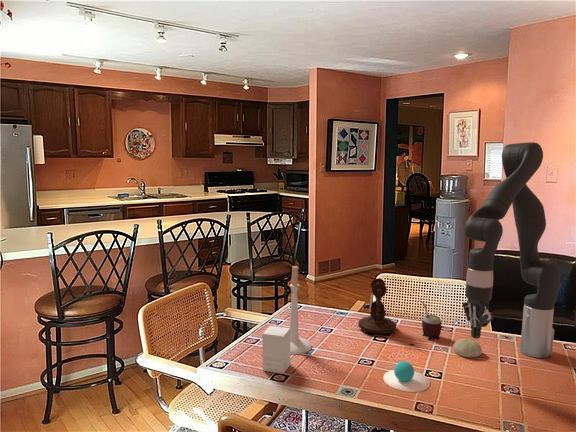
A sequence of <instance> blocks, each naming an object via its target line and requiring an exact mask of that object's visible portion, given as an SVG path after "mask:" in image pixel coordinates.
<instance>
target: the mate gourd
mask: <svg viewBox="0 0 576 432" xmlns="http://www.w3.org/2000/svg"><path fill="white" fill-rule="evenodd" d="M419 302H420V303H421V304H422V305H423V307H424V310H425V313H426V315H425V316H424V317H422V320H421V321H422V322H421V328H422V329H421V330H422V336H423V337H426V338H427V340H428V341H431V339H435V340H440V336H441V333H442V332H441V331H442V326H443V324H442V320H441V318H440V317H439V316H437V315H434V314H429V313H428V310H427V305H426V304H425V303H424V302H423V301H421V300H419Z"/></svg>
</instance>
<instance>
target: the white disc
mask: <svg viewBox="0 0 576 432" xmlns="http://www.w3.org/2000/svg"><path fill="white" fill-rule="evenodd" d="M383 381H384V383H385V384H386V385H387V386H389V387H390V388H392V389H394V390H397V391H400V392H407V393H418V392H423V391H425V390H428V389H429V388H430V386H431V381H430V379H429V378H428V377H427V376H425V375H424V374H422V373H420V372H418V371H415V370H414V376H413V378H412V379H411V380H410V381H408V382H402V381H400V380H398V379H397V378H396V376H395V373H394V369H391V370H389V371H387V372H385V373H384V374H383Z"/></svg>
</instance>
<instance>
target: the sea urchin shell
mask: <svg viewBox="0 0 576 432" xmlns="http://www.w3.org/2000/svg"><path fill="white" fill-rule="evenodd" d="M452 348H453V351H454V352H455V353H456V354H458V355H459V356H462V357H463V358H478V357H480V356H481V355H482V353H483V349H482V345H480V343H478V341H476V340H473V339H469V338H461V339H458V340H456V341H455V342H454V343H453V346H452Z"/></svg>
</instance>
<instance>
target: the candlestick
mask: <svg viewBox="0 0 576 432" xmlns="http://www.w3.org/2000/svg"><path fill="white" fill-rule="evenodd" d="M298 269H299V267H298V266H297V265H293V266H292V267H291V283H290V284H289V287H290V290H291V302H290V304H291V305H290V314H289V315H290V316H289V328H290V355H302V354H306V353H308V352H310V351H311V350H312V343H311V342H310V341H309V340H307V339H305V338H304V337H300V336H299V334H300V333H299V308H298V291H299V287H300V284H298V282H299V281H298V280H299V279H298V277H299V276H298V275H299V273H298V271H299V270H298Z"/></svg>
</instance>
